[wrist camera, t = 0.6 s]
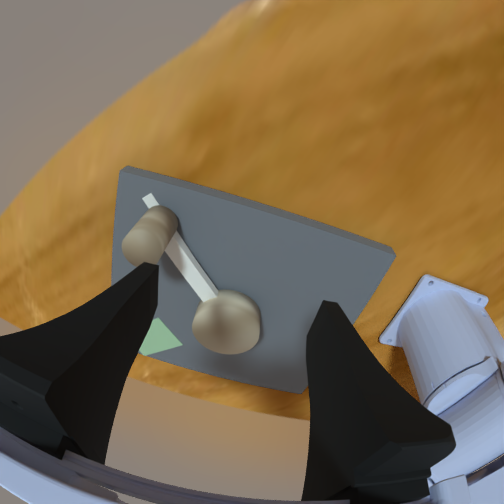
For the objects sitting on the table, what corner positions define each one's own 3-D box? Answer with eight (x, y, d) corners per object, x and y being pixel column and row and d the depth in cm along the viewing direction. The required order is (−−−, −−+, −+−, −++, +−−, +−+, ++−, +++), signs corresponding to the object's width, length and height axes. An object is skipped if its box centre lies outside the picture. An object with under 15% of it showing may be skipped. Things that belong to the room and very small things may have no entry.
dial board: (391, 247, 22) (396, 256, 21) (300, 385, 31) (300, 394, 30) (127, 165, 20) (119, 170, 19) (116, 335, 29) (112, 344, 28)
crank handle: (271, 326, 24) (270, 363, 21) (218, 342, 26) (211, 378, 23) (181, 189, 19) (161, 215, 16) (125, 222, 20) (100, 251, 17)
